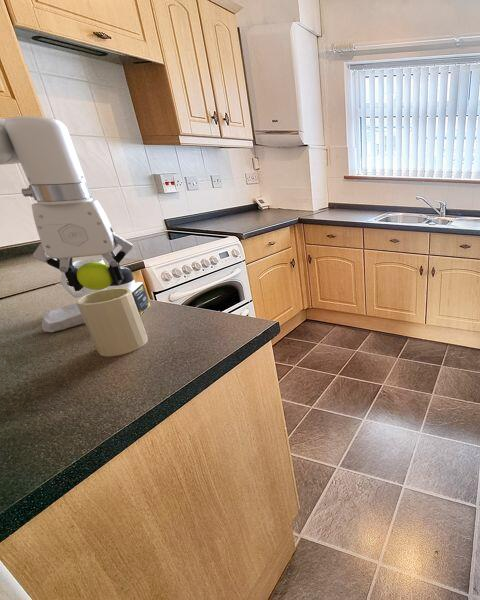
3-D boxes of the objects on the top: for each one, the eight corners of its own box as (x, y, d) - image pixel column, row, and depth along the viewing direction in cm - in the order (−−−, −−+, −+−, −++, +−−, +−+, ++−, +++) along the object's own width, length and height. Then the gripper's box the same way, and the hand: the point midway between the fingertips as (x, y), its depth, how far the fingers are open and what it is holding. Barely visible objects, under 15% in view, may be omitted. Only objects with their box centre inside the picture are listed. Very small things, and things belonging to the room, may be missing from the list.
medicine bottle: (141, 316, 88) (125, 272, 83) (108, 320, 86) (90, 275, 81) (151, 305, 94) (136, 264, 89) (121, 308, 92) (105, 266, 87)
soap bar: (58, 344, 81) (41, 330, 77) (47, 332, 84) (29, 317, 79) (103, 318, 87) (89, 304, 83) (90, 307, 89) (76, 292, 85)
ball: (78, 296, 65) (67, 268, 63) (87, 286, 70) (76, 260, 68) (114, 291, 68) (104, 264, 65) (120, 282, 72) (111, 257, 70)
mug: (117, 295, 101) (102, 256, 96) (119, 301, 96) (103, 261, 91) (72, 304, 95) (54, 263, 90) (72, 312, 90) (52, 269, 85)
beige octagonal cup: (93, 360, 69) (69, 307, 64) (104, 341, 76) (83, 292, 71) (144, 349, 73) (125, 299, 68) (150, 332, 80) (134, 285, 75)
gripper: (-14, 199, 55) (35, 300, 62) (117, 193, 62) (147, 285, 69) (8, 194, 61) (51, 287, 68) (125, 189, 68) (152, 274, 75)
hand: (99, 285), depth 68 cm, fingers closed on ball, 5 cm apart
